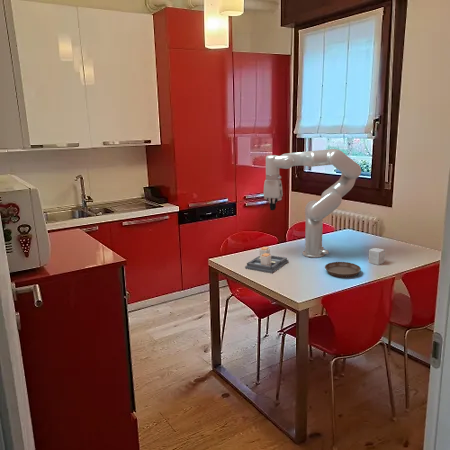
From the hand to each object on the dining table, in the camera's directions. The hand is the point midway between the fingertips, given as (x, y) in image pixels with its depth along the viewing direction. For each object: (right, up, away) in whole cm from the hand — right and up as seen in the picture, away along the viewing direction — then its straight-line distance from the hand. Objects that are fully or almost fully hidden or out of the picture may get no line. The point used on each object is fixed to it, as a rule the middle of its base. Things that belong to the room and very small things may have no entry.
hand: (272, 209), depth 245 cm
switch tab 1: (-5, -30, -15) cm, 34 cm away
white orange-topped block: (-5, -28, -4) cm, 28 cm away
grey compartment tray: (-4, -30, -10) cm, 32 cm away
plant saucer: (+33, -33, -24) cm, 53 cm away
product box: (+55, -29, -11) cm, 63 cm away
